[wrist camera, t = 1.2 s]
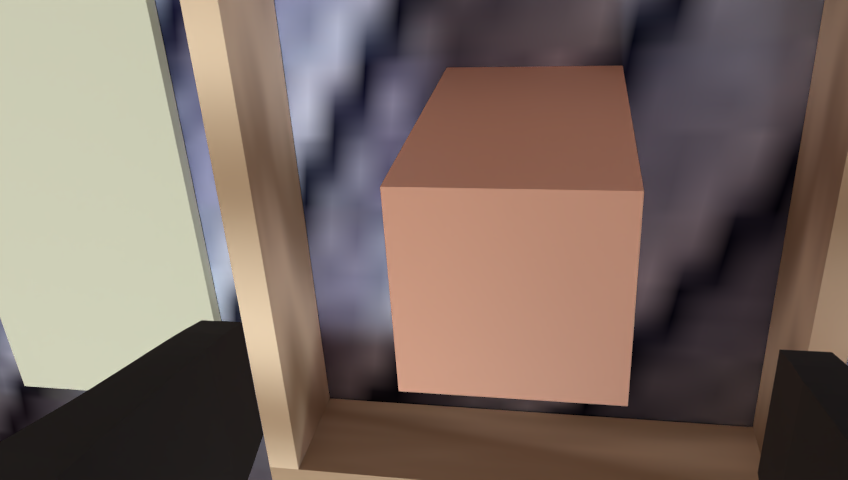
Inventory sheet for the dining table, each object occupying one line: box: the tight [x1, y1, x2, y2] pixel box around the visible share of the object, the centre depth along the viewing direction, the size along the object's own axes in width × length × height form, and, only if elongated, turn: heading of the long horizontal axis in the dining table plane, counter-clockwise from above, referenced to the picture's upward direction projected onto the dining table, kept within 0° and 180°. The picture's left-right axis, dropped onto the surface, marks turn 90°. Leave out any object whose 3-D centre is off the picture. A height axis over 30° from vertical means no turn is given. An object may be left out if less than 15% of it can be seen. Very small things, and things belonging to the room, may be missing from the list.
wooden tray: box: [180, 0, 848, 480], centre depth 18 cm, size 18×14×3 cm
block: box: [380, 66, 644, 406], centre depth 16 cm, size 4×4×7 cm
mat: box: [0, 0, 221, 390], centre depth 21 cm, size 16×7×1 cm, turn 3°
